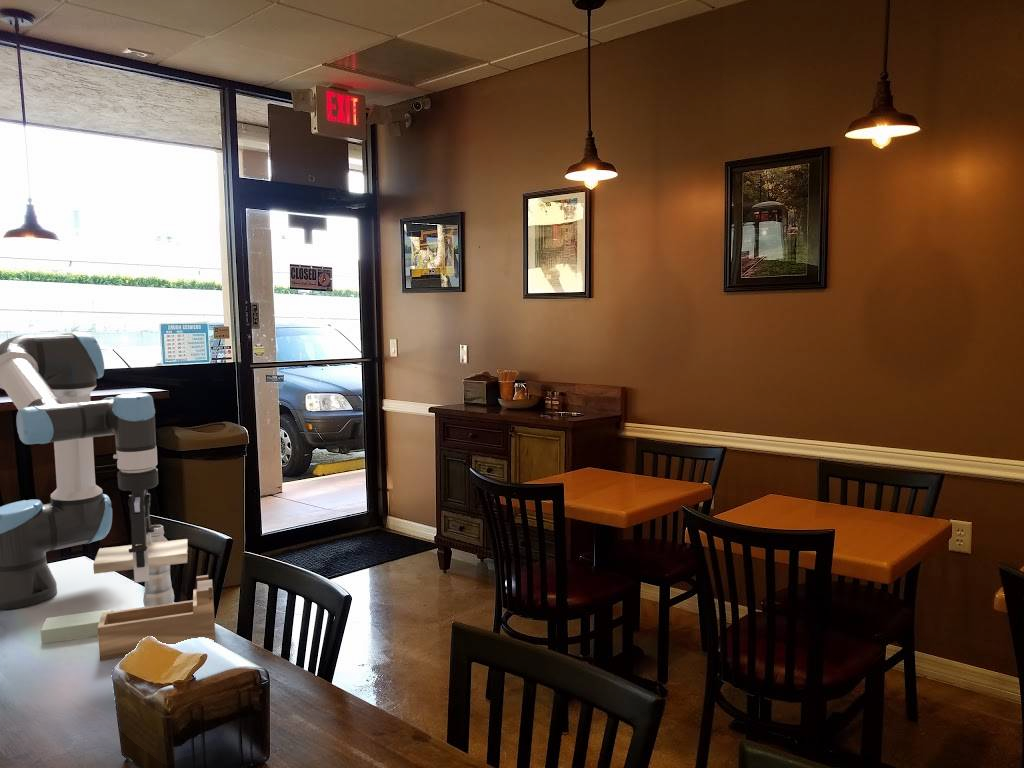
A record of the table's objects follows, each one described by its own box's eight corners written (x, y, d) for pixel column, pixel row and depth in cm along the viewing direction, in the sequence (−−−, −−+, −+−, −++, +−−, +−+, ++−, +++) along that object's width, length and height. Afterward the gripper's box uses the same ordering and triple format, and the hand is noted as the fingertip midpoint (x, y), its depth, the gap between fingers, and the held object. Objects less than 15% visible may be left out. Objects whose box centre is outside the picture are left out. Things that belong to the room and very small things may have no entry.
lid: (100, 557, 165) (99, 548, 164) (187, 547, 171) (187, 538, 171) (93, 573, 155) (93, 564, 155) (187, 562, 162) (186, 553, 161)
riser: (47, 631, 173) (46, 618, 172) (113, 621, 177) (112, 608, 177) (41, 644, 166) (40, 630, 166) (109, 633, 171) (108, 620, 170)
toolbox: (104, 642, 166) (101, 588, 165) (214, 625, 175) (211, 574, 173) (99, 662, 157) (95, 605, 156) (215, 644, 165) (212, 589, 164)
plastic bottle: (140, 609, 184) (134, 527, 182) (169, 601, 189) (164, 521, 186) (148, 617, 179) (143, 533, 177) (179, 609, 184) (174, 527, 182)
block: (198, 591, 170) (197, 581, 170) (212, 589, 171) (212, 579, 171) (197, 600, 165) (197, 589, 165) (213, 598, 167) (212, 587, 166)
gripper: (122, 458, 170) (128, 556, 173) (111, 483, 149) (118, 594, 152) (160, 455, 172) (165, 552, 175) (154, 479, 152) (160, 589, 154)
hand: (143, 572), depth 164 cm, fingers closed on lid, 10 cm apart
